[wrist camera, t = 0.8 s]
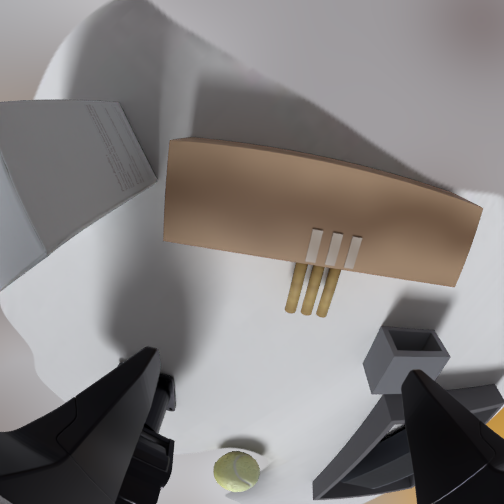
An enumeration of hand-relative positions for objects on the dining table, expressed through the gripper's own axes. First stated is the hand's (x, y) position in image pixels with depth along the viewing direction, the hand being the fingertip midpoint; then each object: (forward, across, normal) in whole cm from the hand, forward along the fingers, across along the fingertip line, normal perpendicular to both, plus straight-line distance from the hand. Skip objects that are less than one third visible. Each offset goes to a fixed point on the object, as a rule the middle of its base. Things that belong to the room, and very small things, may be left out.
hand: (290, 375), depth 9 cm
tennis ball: (+14, +1, +34) cm, 37 cm away
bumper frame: (+13, -24, +31) cm, 42 cm away
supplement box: (+14, +14, -4) cm, 20 cm away
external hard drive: (+13, -24, +31) cm, 42 cm away
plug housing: (+13, -13, +10) cm, 21 cm away
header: (+13, -3, -1) cm, 14 cm away
